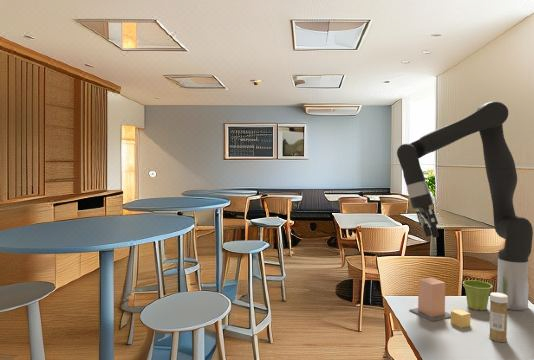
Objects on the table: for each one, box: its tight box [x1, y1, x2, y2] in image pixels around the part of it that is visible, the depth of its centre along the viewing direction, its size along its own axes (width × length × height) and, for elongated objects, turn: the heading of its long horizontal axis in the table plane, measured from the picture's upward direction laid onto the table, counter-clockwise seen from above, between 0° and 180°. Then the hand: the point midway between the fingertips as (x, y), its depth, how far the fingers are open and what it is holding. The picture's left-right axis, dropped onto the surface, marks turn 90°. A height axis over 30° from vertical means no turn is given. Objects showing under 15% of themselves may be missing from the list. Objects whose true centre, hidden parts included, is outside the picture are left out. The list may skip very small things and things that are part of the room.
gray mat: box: [409, 307, 451, 322], centre depth 131 cm, size 10×10×1 cm
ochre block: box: [450, 308, 471, 328], centre depth 123 cm, size 4×4×4 cm
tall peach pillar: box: [417, 277, 446, 317], centre depth 131 cm, size 6×6×11 cm
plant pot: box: [462, 279, 493, 311], centre depth 137 cm, size 9×9×9 cm
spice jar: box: [488, 291, 508, 343], centre depth 112 cm, size 5×5×14 cm
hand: (432, 236), depth 142 cm, fingers open, 8 cm apart
